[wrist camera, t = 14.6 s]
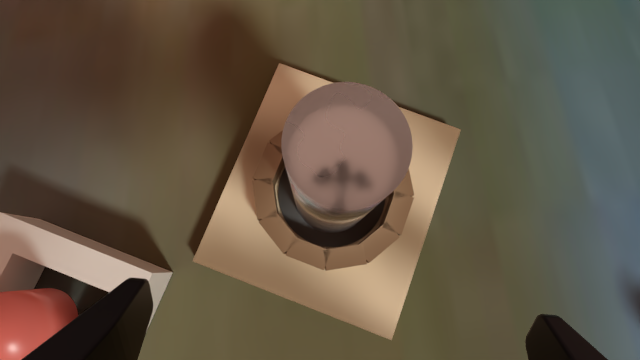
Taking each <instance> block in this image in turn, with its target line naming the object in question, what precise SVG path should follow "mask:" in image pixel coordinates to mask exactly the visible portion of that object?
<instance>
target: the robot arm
mask: <svg viewBox="0 0 640 360" xmlns="http://www.w3.org/2000/svg"><path fill="white" fill-rule="evenodd" d="M152 312H153V299H152V294H151V289H150V284H149V281H148V280H147V279H143V278H128V279H126V280H125V281H124V282H122V283H121V284H120V285H118V286H117V287H116V288H114V289H113V290H112V291H111V292H109V293H108V294H107V295H105V296H104V297H103V298H101V299H100V300H99V301H97V302H96V303H95V304H93V305H92V306H91V307H90V308H88V309H87V310H86V311H84V312H83V313H82V314H80V315H79V316H78V317H76V318H75V319H74V320H73V321H71V322H70V323H69V324H67V325H66V326H65V327H63V328H62V329H61V330H59V331H58V332H57V333H55V334H54V335H53V336H52V337H50V338H49V339H48V340H46V341H45V342H44V343H42V344H41V345H40V346H38V347H37V348H36V349H34V350H33V351H32V352H31V353H29V354H28V355H27V356H25V357H24V358H23V359H21V360H137V359H138V356H139V353H140V350H141V347H142V343H143V340H144V337H145V334H146V331H147V328H148V325H149V321H150V318H151V315H152ZM525 343H526V350H527V354H528V359H529V360H608V359H606V358H605V357H604V356H603V355H602V354H601V353H600V352H599V351H597V350H596V349H595V348H594V347H593V346H592V345H591V344H590V343H589V342H587V341H586V340H585V339H584V338H583V337H582V336H581V335H580V334H578V333H577V332H576V331H575V330H574V329H573V328H572V327H571V326H570V325H568V324H567V323H566V322H565V321H564V320H563V319H562V318H560V317H559V316H556V315H547V314H540V315H538V316H537V317H536V319H535V321H534V323H533V325H532V326H531V328H530V330H529V332H528V334H527V336H526V342H525Z"/></svg>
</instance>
